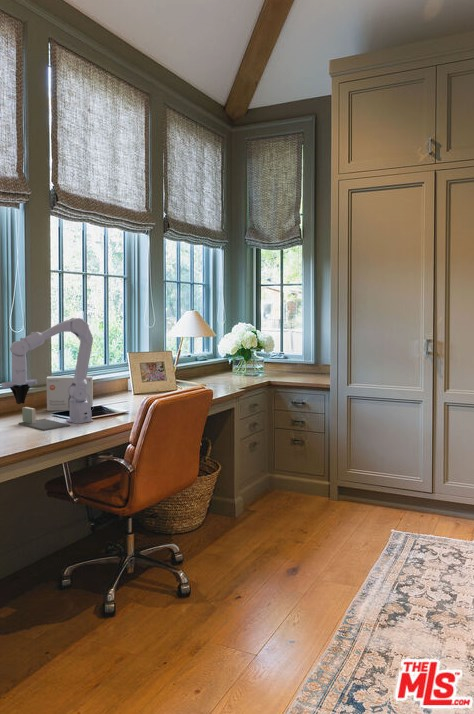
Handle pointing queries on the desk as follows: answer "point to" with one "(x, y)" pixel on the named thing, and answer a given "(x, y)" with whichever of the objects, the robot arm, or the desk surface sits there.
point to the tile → (28, 415)
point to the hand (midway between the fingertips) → (20, 403)
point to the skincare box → (64, 392)
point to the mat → (45, 424)
